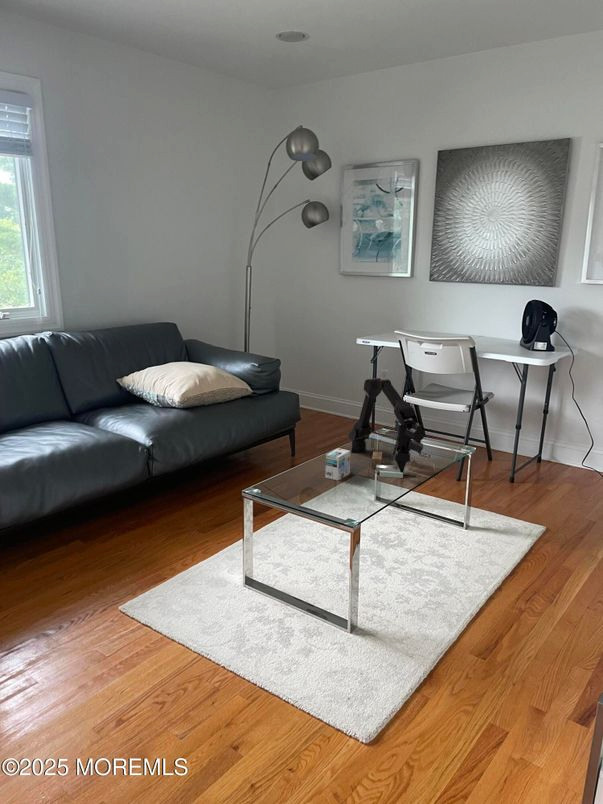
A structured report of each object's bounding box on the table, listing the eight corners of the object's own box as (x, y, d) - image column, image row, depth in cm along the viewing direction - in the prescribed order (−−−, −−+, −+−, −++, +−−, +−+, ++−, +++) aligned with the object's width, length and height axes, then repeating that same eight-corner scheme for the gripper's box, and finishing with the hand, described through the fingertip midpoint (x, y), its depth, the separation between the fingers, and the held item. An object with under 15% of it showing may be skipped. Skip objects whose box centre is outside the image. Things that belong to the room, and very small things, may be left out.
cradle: (379, 476, 267) (379, 472, 266) (380, 469, 274) (380, 465, 274) (402, 478, 265) (403, 473, 265) (403, 471, 273) (403, 467, 272)
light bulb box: (338, 481, 261) (338, 457, 259) (324, 477, 265) (325, 454, 262) (350, 473, 270) (351, 450, 267) (337, 470, 274) (338, 447, 271)
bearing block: (371, 468, 276) (372, 458, 274) (373, 461, 285) (373, 451, 284) (380, 469, 275) (381, 459, 274) (381, 461, 284) (382, 452, 283)
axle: (376, 473, 269) (376, 466, 268) (376, 470, 273) (376, 463, 271) (408, 476, 267) (408, 468, 266) (408, 472, 270) (408, 465, 269)
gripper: (423, 442, 254) (421, 478, 258) (422, 429, 272) (420, 462, 276) (396, 441, 256) (394, 476, 260) (397, 428, 274) (395, 460, 278)
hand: (402, 468), depth 268 cm, fingers open, 9 cm apart
